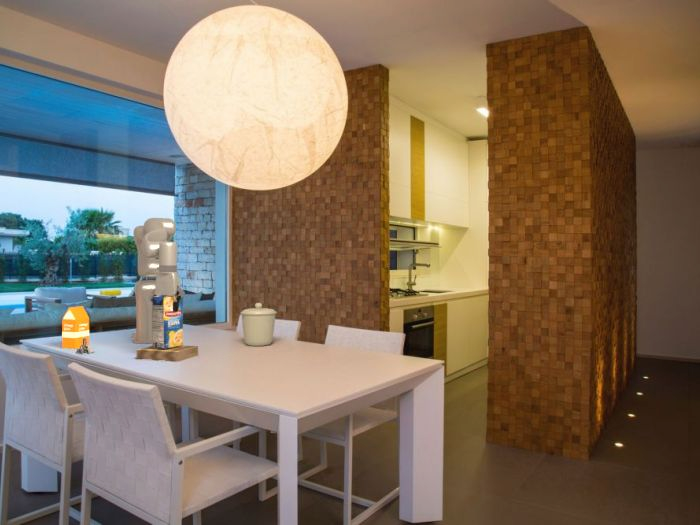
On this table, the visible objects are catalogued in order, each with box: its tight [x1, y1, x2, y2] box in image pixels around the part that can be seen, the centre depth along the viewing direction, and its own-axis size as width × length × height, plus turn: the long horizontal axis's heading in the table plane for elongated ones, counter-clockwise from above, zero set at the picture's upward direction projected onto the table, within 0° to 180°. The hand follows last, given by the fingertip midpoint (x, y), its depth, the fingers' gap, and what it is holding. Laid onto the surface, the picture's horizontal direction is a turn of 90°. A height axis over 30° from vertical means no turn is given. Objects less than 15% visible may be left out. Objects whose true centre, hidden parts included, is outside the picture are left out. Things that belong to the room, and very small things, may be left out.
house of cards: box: [75, 338, 95, 355], centre depth 243 cm, size 9×9×8 cm
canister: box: [240, 302, 277, 347], centre depth 273 cm, size 18×18×21 cm
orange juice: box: [61, 305, 90, 350], centre depth 260 cm, size 8×9×20 cm
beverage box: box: [152, 294, 184, 349], centre depth 238 cm, size 7×11×22 cm, turn 151°
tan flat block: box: [136, 344, 199, 362], centre depth 238 cm, size 20×16×4 cm
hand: (167, 310), depth 238 cm, fingers closed on beverage box, 7 cm apart
